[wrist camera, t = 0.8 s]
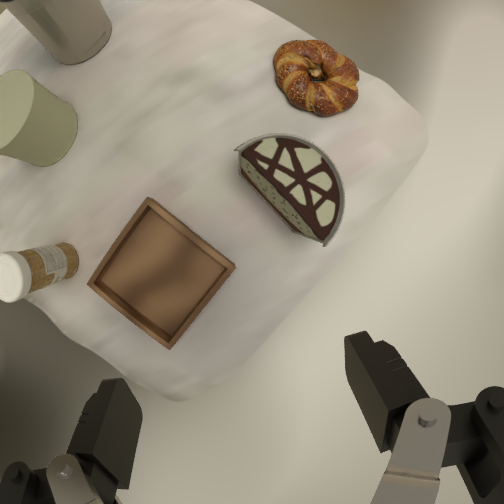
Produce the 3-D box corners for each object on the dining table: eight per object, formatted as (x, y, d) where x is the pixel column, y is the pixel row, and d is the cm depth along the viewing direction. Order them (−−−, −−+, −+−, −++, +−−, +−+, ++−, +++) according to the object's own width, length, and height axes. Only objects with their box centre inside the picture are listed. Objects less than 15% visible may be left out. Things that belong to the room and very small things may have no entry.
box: (95, 279, 35) (86, 284, 32) (152, 198, 35) (147, 197, 32) (173, 340, 37) (169, 350, 34) (234, 263, 37) (235, 267, 34)
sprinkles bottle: (58, 282, 34) (-3, 309, 21) (46, 249, 34) (-18, 263, 21) (85, 271, 35) (28, 295, 22) (72, 236, 34) (11, 245, 21)
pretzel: (251, 76, 35) (254, 63, 31) (301, 31, 35) (308, 17, 31) (325, 136, 37) (335, 128, 33) (368, 86, 37) (380, 76, 33)
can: (13, 150, 32) (-41, 133, 20) (46, 92, 32) (1, 59, 20) (54, 178, 33) (-1, 166, 21) (90, 115, 33) (47, 80, 21)
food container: (336, 206, 37) (375, 203, 28) (301, 241, 37) (330, 249, 27) (268, 131, 36) (285, 102, 26) (230, 165, 36) (234, 144, 26)
